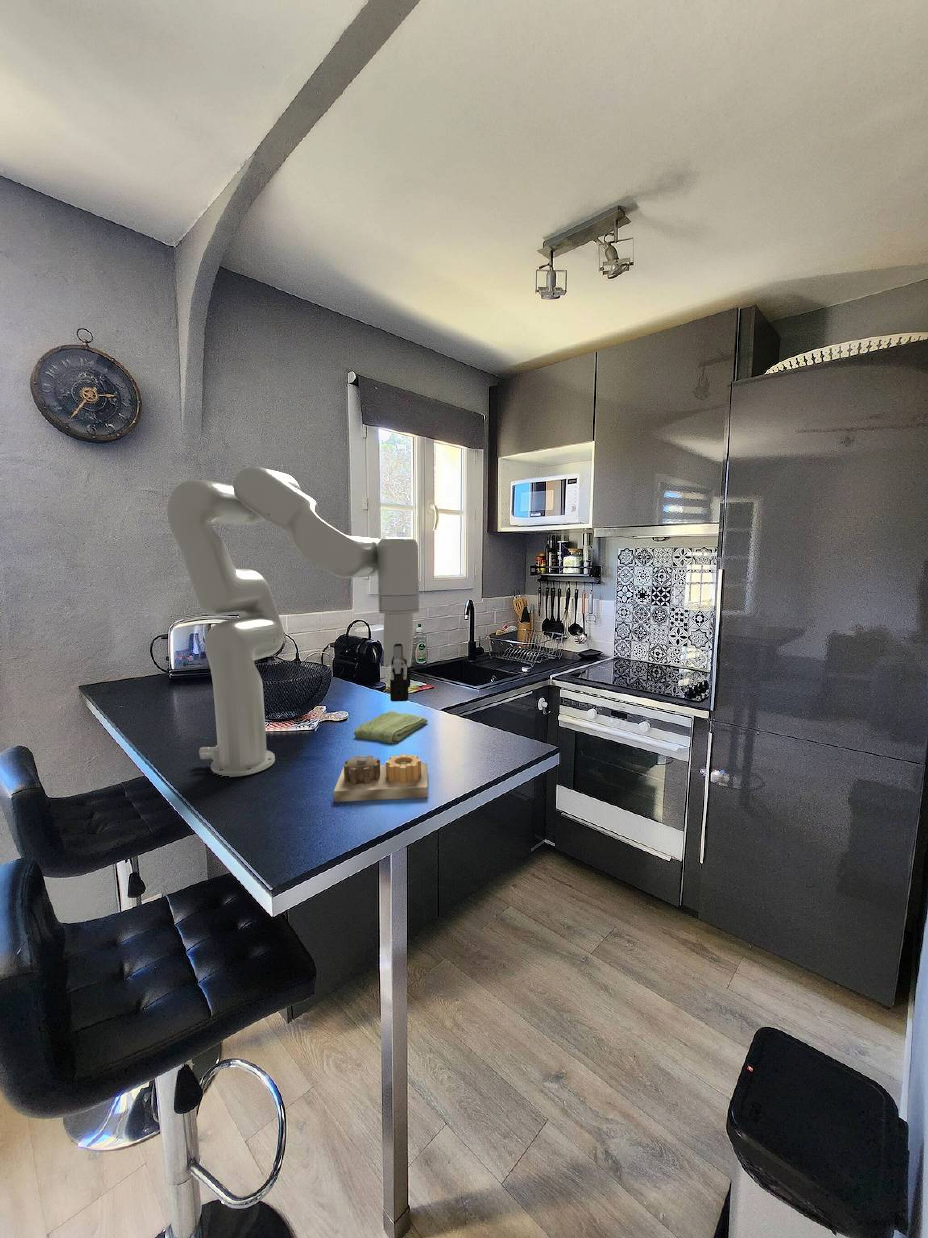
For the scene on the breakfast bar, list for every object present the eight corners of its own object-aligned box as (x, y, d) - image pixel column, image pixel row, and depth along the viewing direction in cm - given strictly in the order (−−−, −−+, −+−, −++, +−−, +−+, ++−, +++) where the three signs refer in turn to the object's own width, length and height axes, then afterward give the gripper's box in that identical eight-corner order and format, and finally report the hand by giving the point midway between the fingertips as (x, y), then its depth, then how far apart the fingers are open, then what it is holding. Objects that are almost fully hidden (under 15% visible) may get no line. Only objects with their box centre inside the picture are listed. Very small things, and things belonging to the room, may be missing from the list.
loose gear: (384, 784, 94) (384, 768, 94) (387, 769, 101) (387, 754, 100) (421, 782, 94) (421, 767, 94) (421, 767, 101) (421, 753, 101)
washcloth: (430, 724, 135) (429, 712, 135) (395, 747, 119) (394, 734, 119) (388, 718, 140) (388, 707, 140) (349, 739, 124) (349, 727, 124)
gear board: (334, 801, 92) (332, 773, 91) (344, 776, 102) (342, 750, 102) (427, 797, 93) (427, 769, 92) (427, 772, 104) (427, 746, 103)
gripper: (382, 600, 102) (385, 683, 104) (373, 609, 85) (376, 707, 87) (419, 600, 103) (421, 682, 105) (418, 608, 85) (419, 706, 88)
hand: (401, 693), depth 96 cm, fingers open, 9 cm apart
